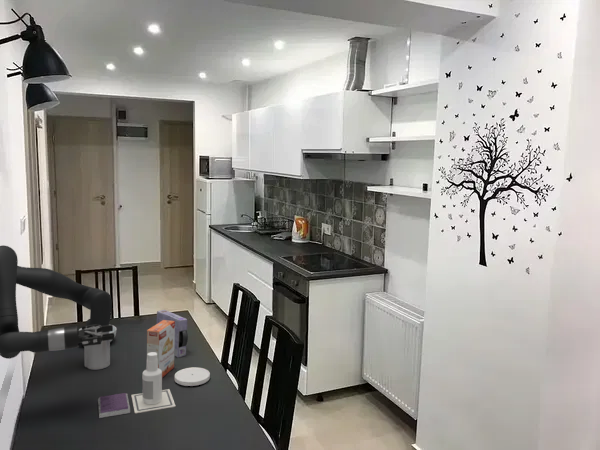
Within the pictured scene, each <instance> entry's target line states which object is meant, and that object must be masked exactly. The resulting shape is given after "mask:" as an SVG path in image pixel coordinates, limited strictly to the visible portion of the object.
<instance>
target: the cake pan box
mask: <svg viewBox="0 0 600 450" xmlns="http://www.w3.org/2000/svg"><path fill="white" fill-rule="evenodd" d="M162 320H168V321H175V348H174V357H176V358H178V359H179V358H182V357H185V356H187V344H188V341H189V336H188V335H189V333H188V319H187V318H186V317H182V316H181V315H179V314H176V313H173V312H171V311H169V310H166V309H161V310H157V312H156V324H158V323H159V322H161V321H162Z"/></svg>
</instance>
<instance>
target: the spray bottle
mask: <svg viewBox="0 0 600 450" xmlns="http://www.w3.org/2000/svg"><path fill="white" fill-rule="evenodd" d="M145 366H146V368H145V369H144V370H143V371H142V374H141V375H142V388H141V389H142V393H143V403H145V404H148V405H153V404H157V403H159V402H160V401H161V400H162V390H163V377H162V371H161V369H159V368H158V359H157V353H156V352H150V353H148V354H147V353H146V365H145Z"/></svg>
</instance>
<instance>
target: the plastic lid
mask: <svg viewBox="0 0 600 450" xmlns="http://www.w3.org/2000/svg"><path fill="white" fill-rule="evenodd" d="M210 378H211V373H210V371H209V370H208V369H207V368H203V367H197V366H196V367H195V366H194V367H186V368H183V369H180V370H178V371H177V372H175V374H174V382H175V383H177V384H178V385H181V386H185V387H188V386H190V387H193V386H199V385H200V386H201V385H203V384H205V383H207V382H209V380H210Z"/></svg>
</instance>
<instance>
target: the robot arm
mask: <svg viewBox="0 0 600 450" xmlns="http://www.w3.org/2000/svg"><path fill="white" fill-rule="evenodd" d="M18 261H19V260H18V254H17V253H16V251H15V250H14V249H13V248H12V247H11V246H9V245H0V357H1V358H4V359H9V360H10V359H13V358H15V357H17V356H18V355H19V354H20V353H21V352H31V353H43V352H51V351H54V352H55V351H62V350H63V351H64V350H70V349H77V348H79V347H80V343H81V346H82V347H84V348H83V349H84V354H83V356H84V357H83V358H84V367H85V368H87V369H88V370H93V371H95V370H102V369H105V368H108V367H109V366H110V365H111V344H110V343H111V341H110V340H112V341H113V340H115V338H114V333H110V331H113V326H114V325H113V324H110V322H111V321H112V311H113V310H112V309H113V307H112V306H113V305H112V304H113V301H112V296H111V294H110V293H109V292H108V291H105V290H103V289H100V288H98V287H97V288H96V287H92V286H89V285H84V284H81V283H78V282H76V281H75V280H73V279H71V278H70V277H68V276H66V275H65V274H62V273H61V272H57V271H55V270H53V269H50V268H44V267H28V266H27V267H26V266H20V265H18V264H19V263H18ZM17 285H19V286H22V287H25V288H27V289H31V290H34V291H36V292H40V293H41V294H45V295H47V296H51V297H54V298H58V299H63V300H64V299H66V300H69V301H71V302H74V303H76V304H78V305H81V306H82V307H84V308H85V309H87V310H89V312H90V314H89V315H90V316H89V318H88V319H87V320H86V321H85V325H82V326H81V328H82V330H79V326H78V325H74V326H73V325H72V326H66V327H56V328H52V329H47V330H40V331H20V328H19V315H18V306H17V296H16V295H17ZM112 325H113V326H112Z"/></svg>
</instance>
